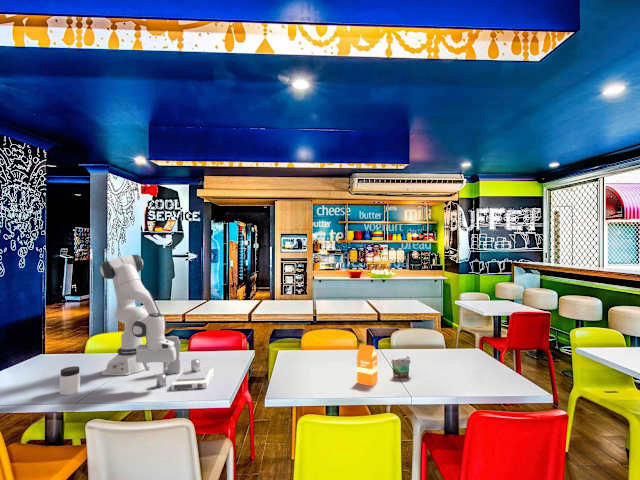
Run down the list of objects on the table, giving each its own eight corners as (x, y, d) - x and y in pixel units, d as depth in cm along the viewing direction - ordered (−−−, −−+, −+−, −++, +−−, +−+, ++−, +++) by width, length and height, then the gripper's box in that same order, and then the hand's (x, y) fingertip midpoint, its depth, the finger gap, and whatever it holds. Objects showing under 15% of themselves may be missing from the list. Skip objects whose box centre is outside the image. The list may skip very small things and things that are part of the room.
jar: (77, 387, 193) (77, 365, 193) (82, 391, 188) (82, 368, 188) (57, 392, 186) (57, 369, 186) (62, 396, 181) (62, 372, 181)
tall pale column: (161, 374, 211) (161, 337, 211) (164, 372, 215) (163, 335, 215) (179, 374, 212) (179, 336, 212) (182, 371, 216) (181, 334, 216)
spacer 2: (190, 372, 202) (190, 362, 202) (192, 369, 207) (192, 359, 207) (198, 372, 203) (198, 361, 203) (200, 369, 207) (200, 359, 207)
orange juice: (371, 385, 191) (371, 348, 191) (356, 382, 196) (356, 345, 196) (377, 381, 198) (377, 344, 198) (363, 378, 202) (362, 342, 203)
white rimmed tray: (170, 390, 187) (170, 383, 187) (181, 375, 209) (181, 368, 209) (206, 388, 189) (206, 381, 189) (213, 373, 212) (213, 366, 212)
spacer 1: (155, 388, 191) (155, 376, 191) (158, 384, 195) (158, 373, 196) (164, 387, 191) (164, 376, 192) (167, 384, 196) (166, 373, 196)
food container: (398, 380, 198) (398, 362, 198) (391, 377, 203) (391, 359, 203) (415, 376, 203) (415, 359, 204) (408, 373, 209) (407, 356, 209)
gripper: (133, 346, 188) (133, 372, 188) (173, 345, 189) (173, 371, 189) (138, 343, 194) (139, 368, 194) (177, 342, 195) (177, 367, 195)
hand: (156, 370), depth 192 cm, fingers open, 8 cm apart
